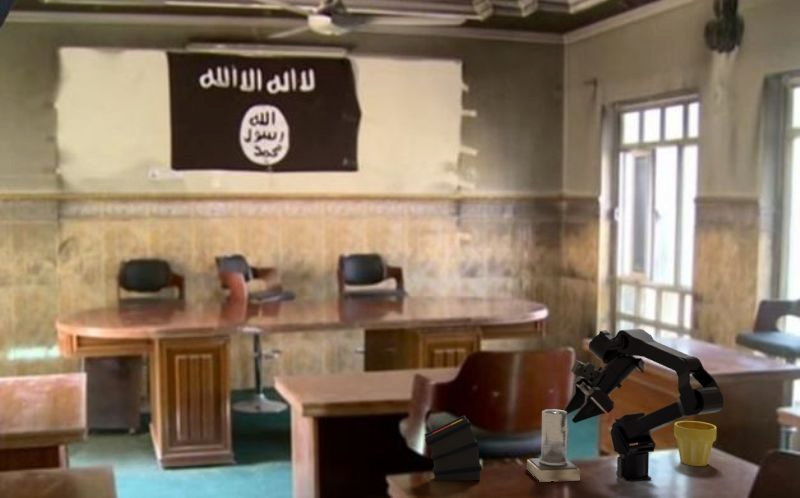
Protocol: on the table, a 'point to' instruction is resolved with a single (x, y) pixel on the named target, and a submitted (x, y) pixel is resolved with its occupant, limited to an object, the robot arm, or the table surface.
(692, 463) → the plant pot
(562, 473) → the stand
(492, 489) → the table surface
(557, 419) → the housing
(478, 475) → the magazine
